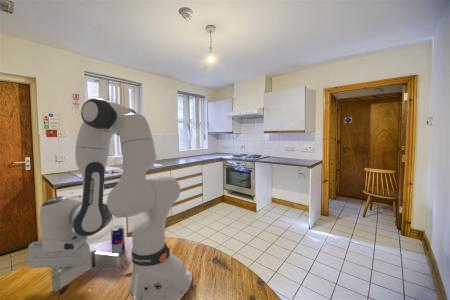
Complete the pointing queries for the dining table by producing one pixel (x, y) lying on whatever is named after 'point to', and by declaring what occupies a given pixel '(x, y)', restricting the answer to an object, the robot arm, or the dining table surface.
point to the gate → (68, 275)
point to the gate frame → (104, 260)
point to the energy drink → (118, 240)
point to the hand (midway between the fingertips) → (61, 275)
